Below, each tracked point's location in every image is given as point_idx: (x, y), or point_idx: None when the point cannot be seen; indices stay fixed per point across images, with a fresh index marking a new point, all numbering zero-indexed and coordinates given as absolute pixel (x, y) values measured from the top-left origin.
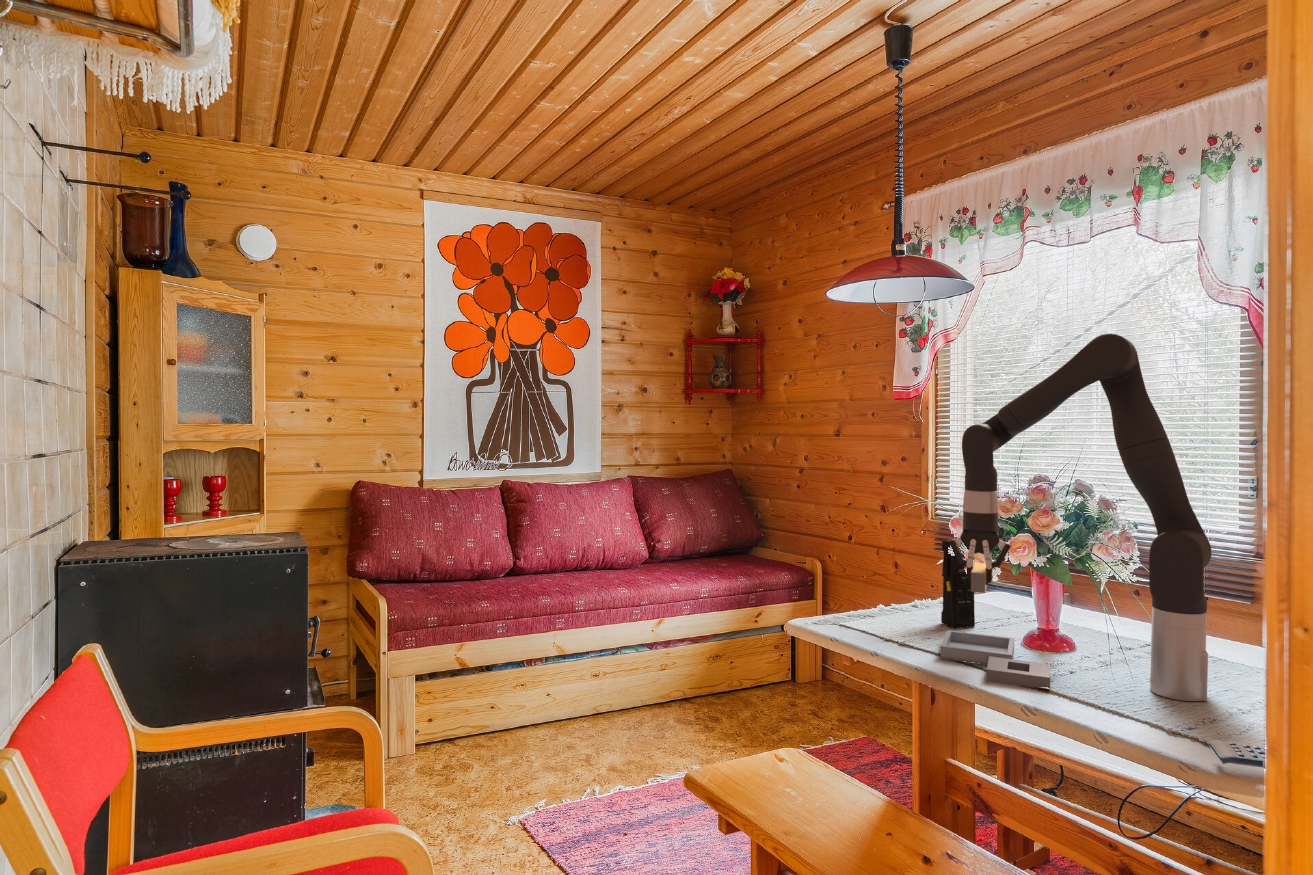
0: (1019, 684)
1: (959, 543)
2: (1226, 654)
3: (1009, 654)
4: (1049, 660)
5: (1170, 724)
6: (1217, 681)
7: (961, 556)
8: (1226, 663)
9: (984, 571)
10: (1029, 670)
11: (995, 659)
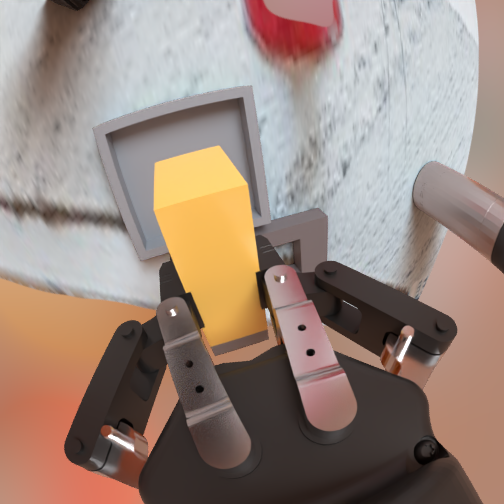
0: None
1: (143, 454)
2: (464, 6)
3: (266, 222)
4: (312, 118)
5: (400, 276)
6: (460, 115)
7: (157, 391)
8: (467, 41)
9: (261, 322)
10: (301, 267)
11: None
